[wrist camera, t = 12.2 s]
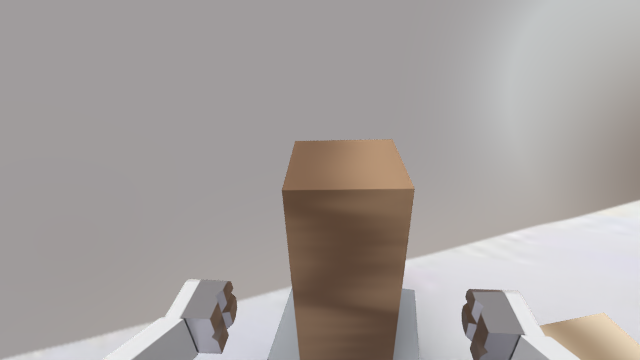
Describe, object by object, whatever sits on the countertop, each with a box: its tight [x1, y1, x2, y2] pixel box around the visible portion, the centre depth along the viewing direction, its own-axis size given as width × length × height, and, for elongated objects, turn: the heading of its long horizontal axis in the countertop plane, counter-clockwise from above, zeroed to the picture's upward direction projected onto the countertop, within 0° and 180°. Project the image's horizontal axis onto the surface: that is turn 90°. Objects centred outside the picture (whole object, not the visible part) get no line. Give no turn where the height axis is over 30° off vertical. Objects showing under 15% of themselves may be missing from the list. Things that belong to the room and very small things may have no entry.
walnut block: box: [282, 139, 414, 360], centre depth 15 cm, size 4×4×11 cm
